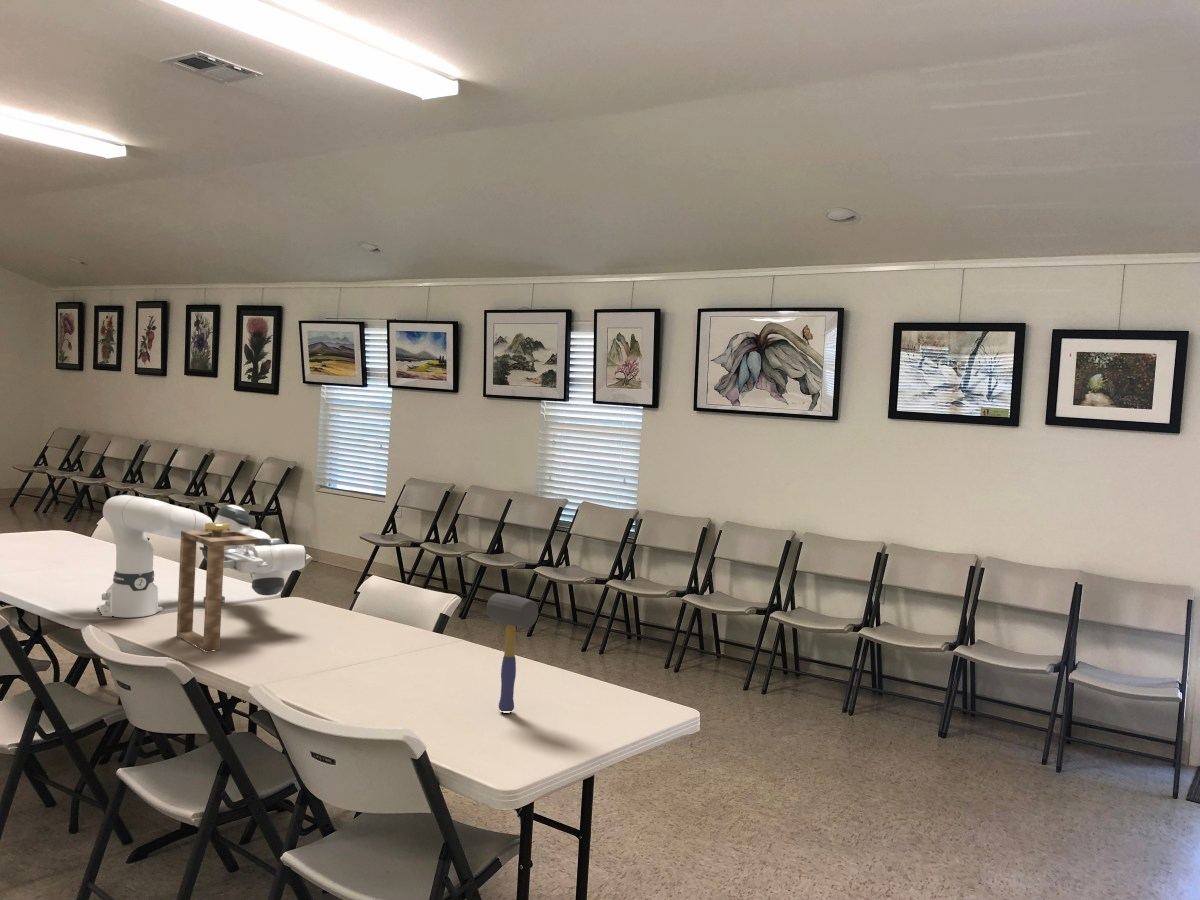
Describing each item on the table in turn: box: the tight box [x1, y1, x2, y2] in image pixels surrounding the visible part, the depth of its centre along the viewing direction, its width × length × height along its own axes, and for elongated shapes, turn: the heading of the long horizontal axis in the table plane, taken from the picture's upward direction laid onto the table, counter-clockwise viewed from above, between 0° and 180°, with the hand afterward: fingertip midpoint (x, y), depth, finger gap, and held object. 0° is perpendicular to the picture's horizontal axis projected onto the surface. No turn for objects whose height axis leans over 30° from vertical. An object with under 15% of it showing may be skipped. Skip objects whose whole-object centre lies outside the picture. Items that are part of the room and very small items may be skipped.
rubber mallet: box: [486, 592, 539, 712], centre depth 238 cm, size 12×8×30 cm, turn 54°
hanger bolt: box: [202, 521, 230, 605], centre depth 285 cm, size 7×7×24 cm
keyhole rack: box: [176, 529, 261, 652], centre depth 287 cm, size 15×22×32 cm
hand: (212, 563), depth 285 cm, fingers closed on hanger bolt, 3 cm apart
